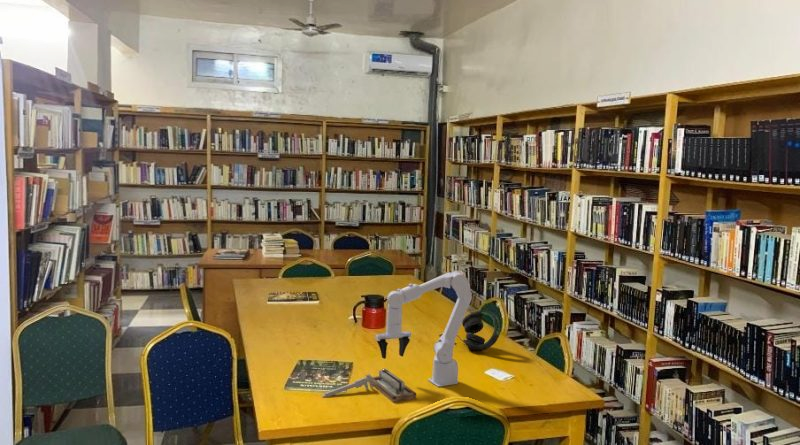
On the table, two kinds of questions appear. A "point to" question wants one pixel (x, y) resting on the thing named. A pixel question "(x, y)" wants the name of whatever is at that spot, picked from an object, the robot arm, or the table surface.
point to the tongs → (391, 381)
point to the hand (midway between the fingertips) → (392, 356)
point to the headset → (474, 325)
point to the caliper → (352, 386)
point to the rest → (391, 395)
